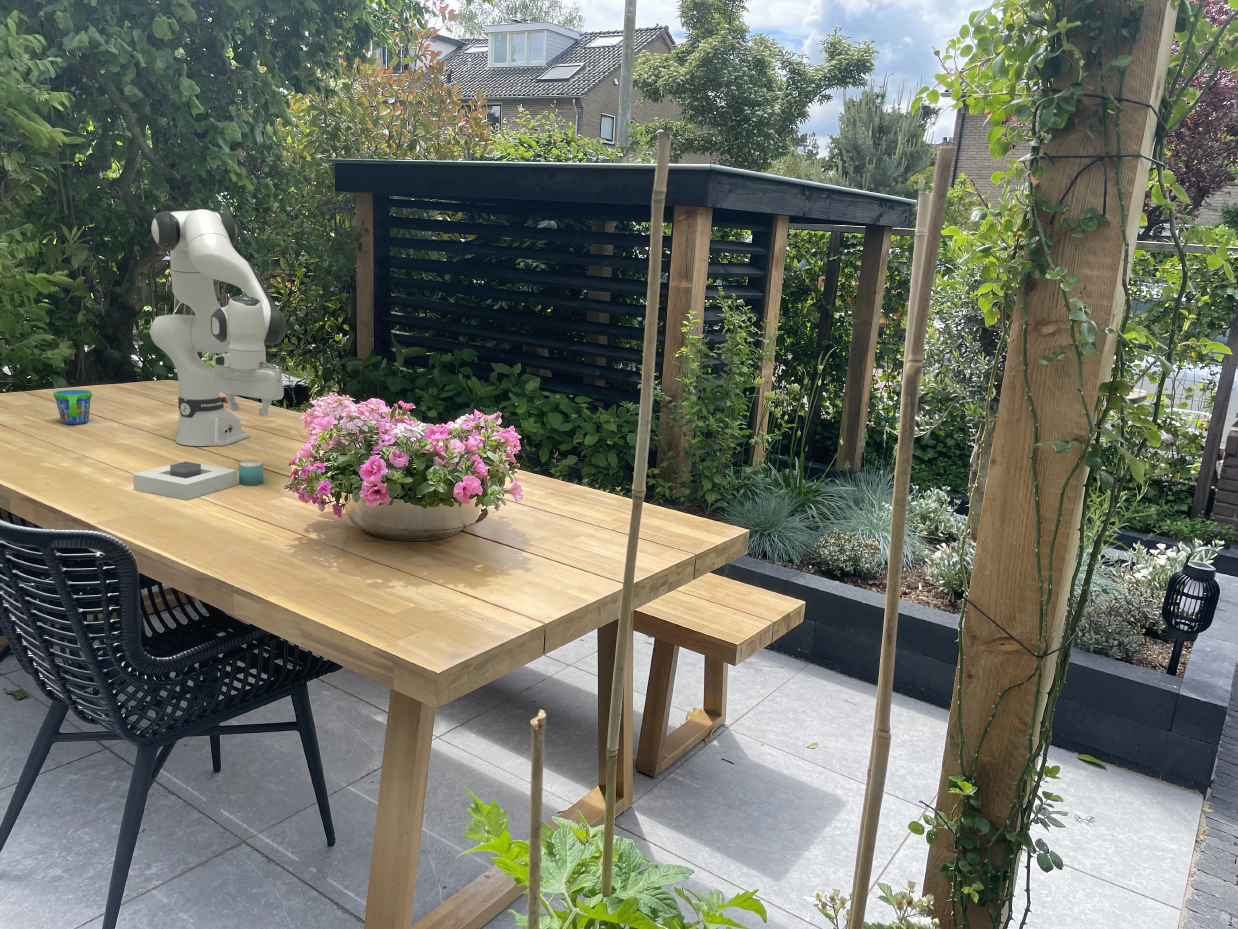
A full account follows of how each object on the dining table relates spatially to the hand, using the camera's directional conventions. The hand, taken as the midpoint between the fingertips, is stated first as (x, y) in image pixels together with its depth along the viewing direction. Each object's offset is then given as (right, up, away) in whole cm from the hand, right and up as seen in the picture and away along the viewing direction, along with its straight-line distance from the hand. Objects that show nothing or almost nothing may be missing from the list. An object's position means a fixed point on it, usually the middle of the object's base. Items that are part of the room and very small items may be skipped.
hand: (248, 413), depth 232 cm
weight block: (-15, -18, -4) cm, 24 cm away
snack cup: (-80, 0, +56) cm, 98 cm away
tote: (-15, -19, -3) cm, 25 cm away
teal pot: (-1, -18, +5) cm, 19 cm away
